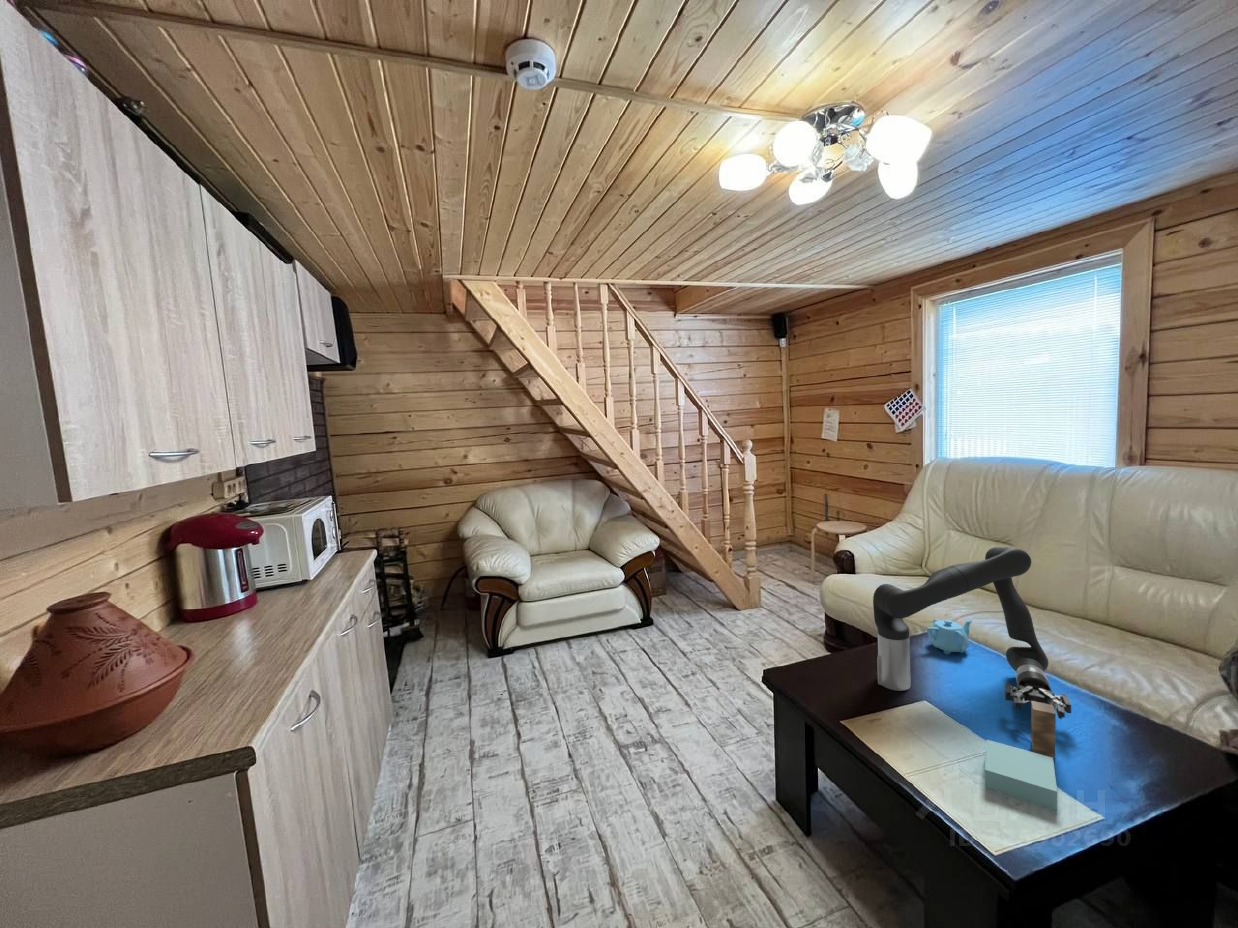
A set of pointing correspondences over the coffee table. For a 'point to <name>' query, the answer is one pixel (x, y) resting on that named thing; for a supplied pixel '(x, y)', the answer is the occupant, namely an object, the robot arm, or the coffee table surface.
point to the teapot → (949, 635)
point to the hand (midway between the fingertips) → (1039, 710)
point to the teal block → (1021, 774)
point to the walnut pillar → (1043, 728)
